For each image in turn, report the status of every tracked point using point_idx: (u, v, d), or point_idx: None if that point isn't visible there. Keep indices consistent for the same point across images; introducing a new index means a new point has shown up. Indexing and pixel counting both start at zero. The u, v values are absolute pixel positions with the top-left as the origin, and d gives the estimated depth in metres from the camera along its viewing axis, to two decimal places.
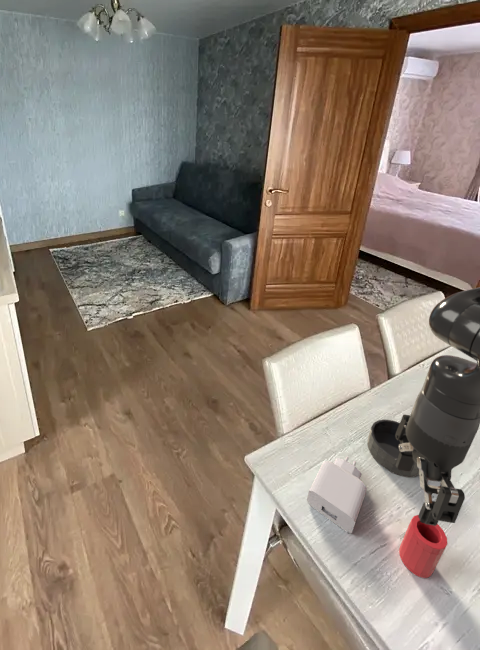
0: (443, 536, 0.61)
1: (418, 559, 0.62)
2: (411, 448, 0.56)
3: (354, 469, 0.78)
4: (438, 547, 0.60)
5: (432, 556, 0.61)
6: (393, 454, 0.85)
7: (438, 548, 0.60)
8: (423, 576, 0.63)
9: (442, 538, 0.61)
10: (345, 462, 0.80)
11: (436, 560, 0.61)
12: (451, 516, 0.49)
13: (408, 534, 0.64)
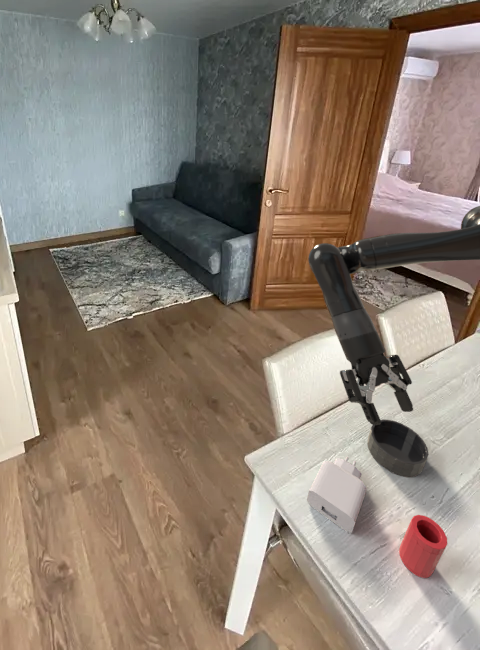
0: (443, 536, 0.61)
1: (418, 559, 0.62)
2: None
3: (354, 469, 0.78)
4: (438, 547, 0.60)
5: (432, 556, 0.61)
6: (393, 454, 0.85)
7: (438, 548, 0.60)
8: (423, 576, 0.63)
9: (442, 538, 0.61)
10: (345, 462, 0.80)
11: (436, 560, 0.61)
12: (356, 395, 0.65)
13: (408, 534, 0.64)
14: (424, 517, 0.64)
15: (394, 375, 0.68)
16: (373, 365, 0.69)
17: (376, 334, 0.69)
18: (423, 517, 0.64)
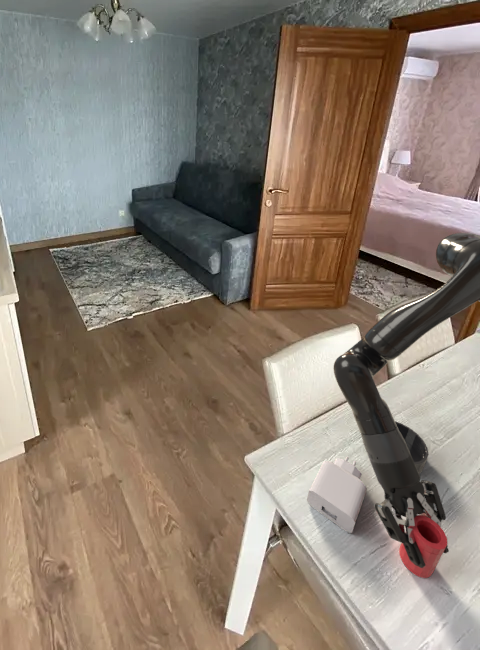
0: (443, 536, 0.61)
1: None
2: None
3: (354, 469, 0.78)
4: (438, 547, 0.60)
5: (432, 556, 0.61)
6: None
7: (438, 548, 0.60)
8: (423, 576, 0.63)
9: (442, 538, 0.61)
10: (345, 462, 0.80)
11: (436, 560, 0.61)
12: None
13: None
14: (424, 517, 0.64)
15: (429, 508, 0.64)
16: (408, 493, 0.65)
17: (411, 460, 0.65)
18: (423, 517, 0.64)
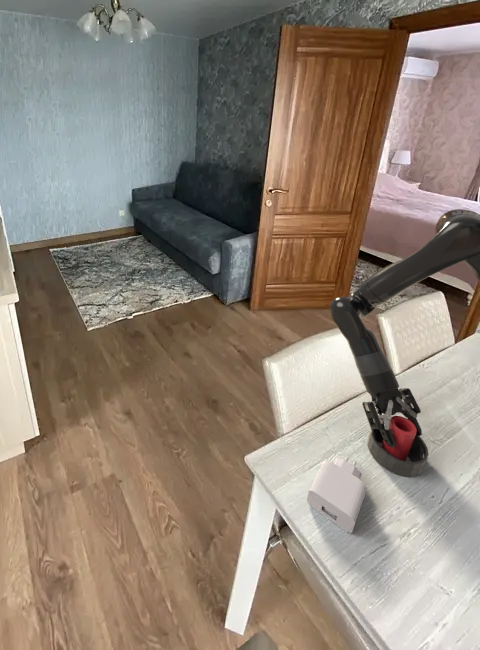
0: (413, 428, 0.82)
1: None
2: None
3: (354, 469, 0.78)
4: (409, 434, 0.80)
5: (405, 442, 0.81)
6: None
7: (409, 434, 0.80)
8: None
9: (413, 429, 0.81)
10: (345, 462, 0.80)
11: (408, 445, 0.81)
12: (376, 423, 0.81)
13: None
14: (400, 417, 0.84)
15: (406, 406, 0.84)
16: (389, 398, 0.85)
17: (391, 372, 0.85)
18: (399, 417, 0.84)
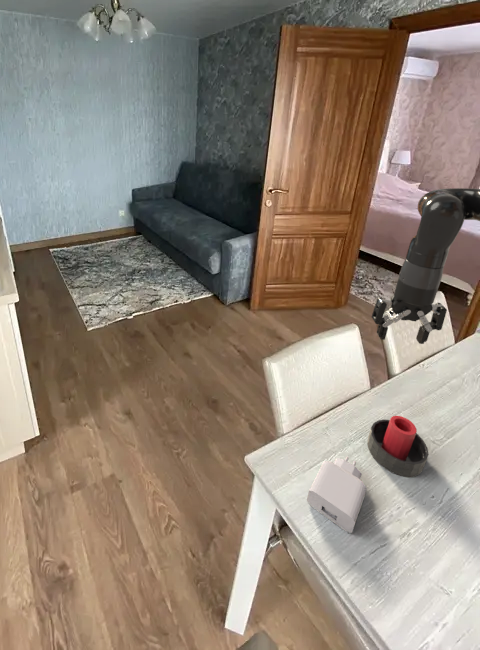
0: (413, 428, 0.82)
1: (395, 446, 0.82)
2: None
3: (354, 469, 0.78)
4: (409, 434, 0.80)
5: (405, 442, 0.81)
6: None
7: (409, 434, 0.80)
8: None
9: (413, 429, 0.81)
10: (345, 462, 0.80)
11: (408, 445, 0.81)
12: None
13: (388, 429, 0.84)
14: (400, 417, 0.84)
15: (425, 320, 0.78)
16: (411, 307, 0.78)
17: (432, 292, 0.74)
18: (399, 417, 0.84)
